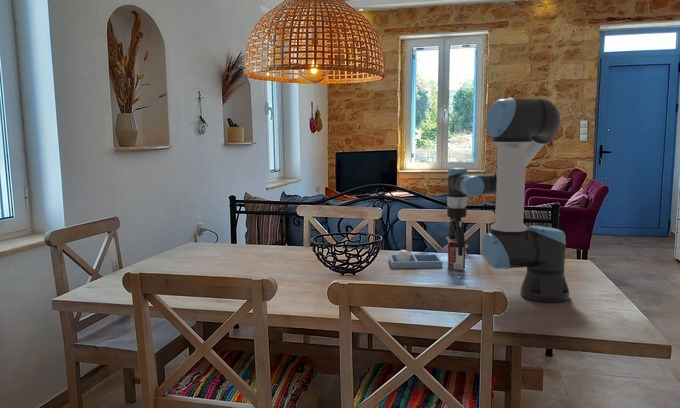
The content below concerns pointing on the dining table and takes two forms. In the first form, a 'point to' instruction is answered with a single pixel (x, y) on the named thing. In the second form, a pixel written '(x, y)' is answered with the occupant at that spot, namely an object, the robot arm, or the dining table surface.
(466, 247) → the lily
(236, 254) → the dining table surface
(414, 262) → the holder
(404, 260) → the cream white ball
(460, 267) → the soda can
